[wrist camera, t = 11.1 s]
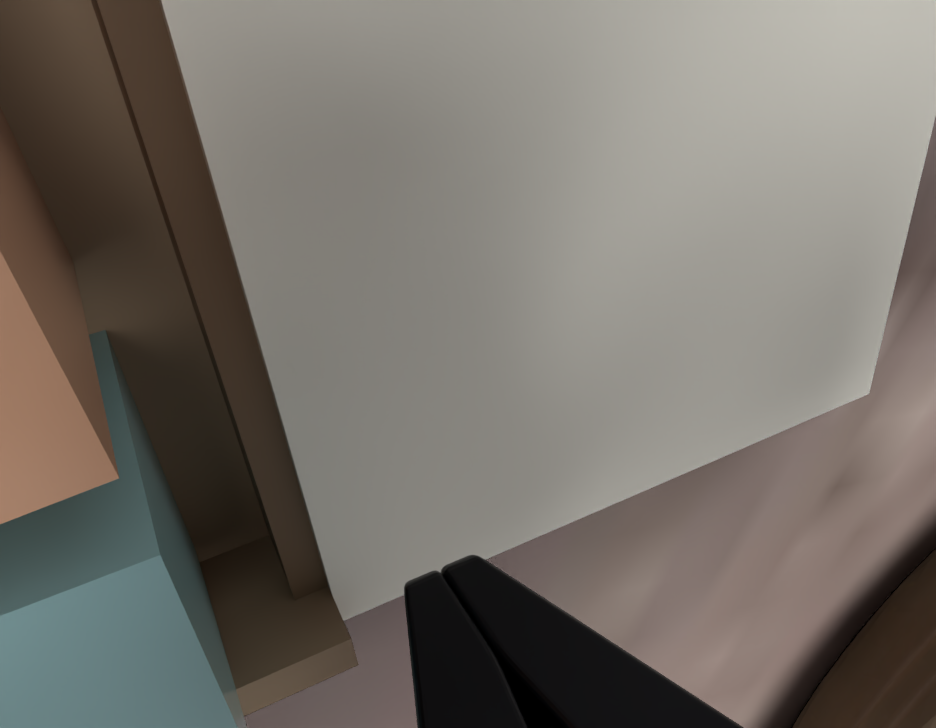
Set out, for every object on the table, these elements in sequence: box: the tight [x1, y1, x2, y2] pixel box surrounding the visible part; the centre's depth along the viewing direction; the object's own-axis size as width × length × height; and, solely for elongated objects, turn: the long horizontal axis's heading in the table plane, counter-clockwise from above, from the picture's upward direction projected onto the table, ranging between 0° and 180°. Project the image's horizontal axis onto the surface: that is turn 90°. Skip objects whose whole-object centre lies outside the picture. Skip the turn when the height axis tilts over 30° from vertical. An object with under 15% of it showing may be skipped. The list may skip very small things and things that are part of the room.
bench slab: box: [159, 0, 936, 621], centre depth 12 cm, size 10×11×2 cm
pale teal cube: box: [0, 330, 247, 728], centre depth 10 cm, size 4×4×3 cm
